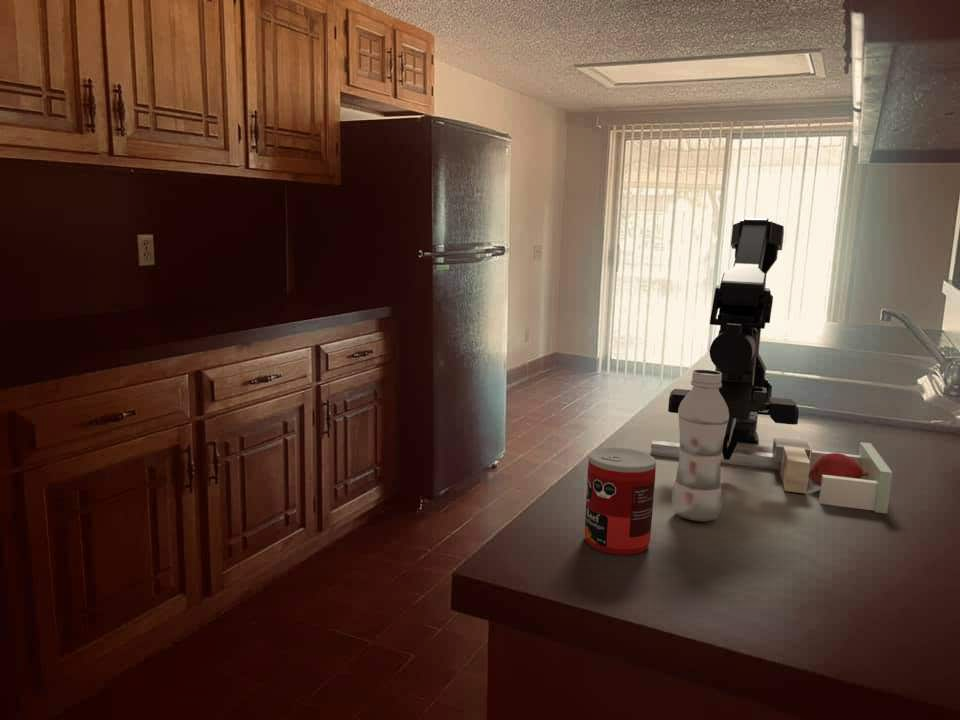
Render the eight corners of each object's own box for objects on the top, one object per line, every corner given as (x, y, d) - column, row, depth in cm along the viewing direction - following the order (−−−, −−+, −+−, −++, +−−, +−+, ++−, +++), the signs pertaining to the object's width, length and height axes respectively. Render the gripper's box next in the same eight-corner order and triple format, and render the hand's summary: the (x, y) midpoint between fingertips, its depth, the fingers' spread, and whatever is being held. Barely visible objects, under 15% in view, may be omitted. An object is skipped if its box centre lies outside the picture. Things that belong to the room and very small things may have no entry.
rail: (651, 450, 127) (652, 439, 127) (846, 473, 118) (847, 461, 118) (650, 454, 125) (651, 443, 125) (848, 478, 116) (850, 466, 116)
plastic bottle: (695, 530, 94) (708, 378, 90) (659, 512, 100) (670, 369, 96) (731, 522, 97) (745, 375, 93) (694, 505, 103) (706, 365, 99)
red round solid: (808, 451, 108) (867, 448, 106) (805, 458, 114) (861, 455, 111) (813, 491, 107) (874, 488, 104) (810, 495, 112) (867, 493, 109)
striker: (771, 463, 121) (774, 436, 121) (803, 467, 120) (806, 439, 119) (777, 489, 109) (781, 459, 108) (814, 494, 107) (817, 463, 106)
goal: (807, 472, 118) (812, 437, 117) (866, 479, 115) (870, 443, 114) (820, 505, 104) (825, 465, 103) (887, 513, 101) (892, 472, 100)
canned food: (580, 528, 93) (585, 446, 91) (643, 531, 93) (649, 448, 91) (587, 555, 86) (592, 465, 84) (655, 557, 86) (662, 468, 84)
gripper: (670, 365, 106) (662, 467, 109) (808, 376, 101) (796, 483, 104) (673, 353, 117) (666, 447, 120) (799, 363, 112) (788, 460, 114)
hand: (726, 459), depth 114 cm, fingers closed
